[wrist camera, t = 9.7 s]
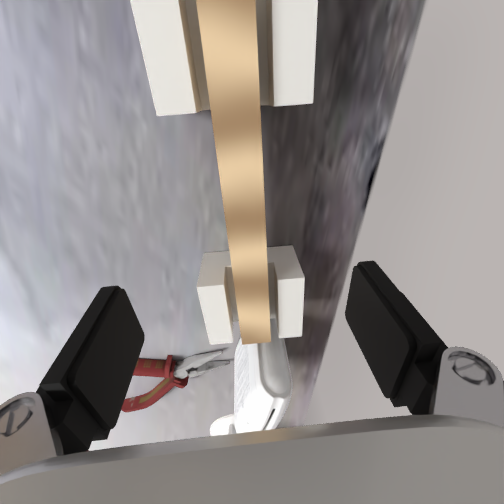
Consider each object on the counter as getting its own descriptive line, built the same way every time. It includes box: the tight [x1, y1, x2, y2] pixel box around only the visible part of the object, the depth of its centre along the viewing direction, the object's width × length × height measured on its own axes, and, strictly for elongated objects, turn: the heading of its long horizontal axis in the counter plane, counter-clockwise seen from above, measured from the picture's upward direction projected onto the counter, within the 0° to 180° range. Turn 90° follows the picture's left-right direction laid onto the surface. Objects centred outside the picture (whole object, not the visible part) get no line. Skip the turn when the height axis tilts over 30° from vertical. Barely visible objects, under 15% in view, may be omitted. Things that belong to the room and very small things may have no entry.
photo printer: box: [234, 318, 293, 433], centre depth 31 cm, size 10×4×12 cm, turn 162°
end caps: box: [130, 0, 318, 345], centre depth 23 cm, size 30×10×6 cm, turn 4°
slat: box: [196, 0, 271, 345], centre depth 21 cm, size 28×3×4 cm, turn 4°
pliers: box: [121, 350, 230, 412], centre depth 39 cm, size 11×20×3 cm, turn 109°
